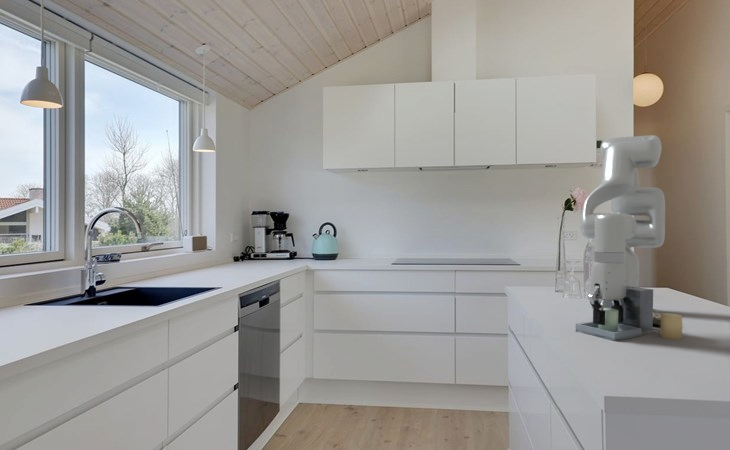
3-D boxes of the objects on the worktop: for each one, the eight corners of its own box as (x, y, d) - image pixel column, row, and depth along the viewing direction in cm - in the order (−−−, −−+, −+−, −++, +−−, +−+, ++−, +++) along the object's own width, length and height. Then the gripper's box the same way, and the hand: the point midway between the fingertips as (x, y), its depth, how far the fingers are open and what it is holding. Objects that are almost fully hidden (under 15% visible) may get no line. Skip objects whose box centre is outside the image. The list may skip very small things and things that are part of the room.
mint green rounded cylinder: (605, 328, 130) (605, 307, 130) (621, 332, 126) (622, 310, 125) (594, 330, 128) (594, 308, 127) (610, 334, 123) (611, 312, 123)
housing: (609, 321, 141) (609, 282, 141) (655, 332, 129) (656, 289, 128) (593, 324, 137) (593, 284, 137) (639, 335, 125) (640, 291, 125)
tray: (602, 326, 134) (602, 319, 134) (641, 336, 124) (641, 328, 124) (575, 330, 129) (575, 323, 129) (614, 340, 119) (614, 333, 119)
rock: (671, 331, 131) (671, 316, 131) (627, 324, 138) (628, 310, 138) (677, 325, 139) (678, 311, 139) (636, 319, 146) (636, 305, 146)
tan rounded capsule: (666, 334, 127) (667, 312, 126) (685, 338, 122) (686, 316, 122) (656, 336, 124) (657, 314, 124) (675, 340, 120) (675, 317, 120)
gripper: (616, 256, 134) (615, 317, 134) (576, 258, 125) (575, 323, 126) (642, 258, 127) (640, 322, 127) (601, 260, 119) (600, 329, 119)
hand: (608, 322), depth 126 cm, fingers open, 7 cm apart
